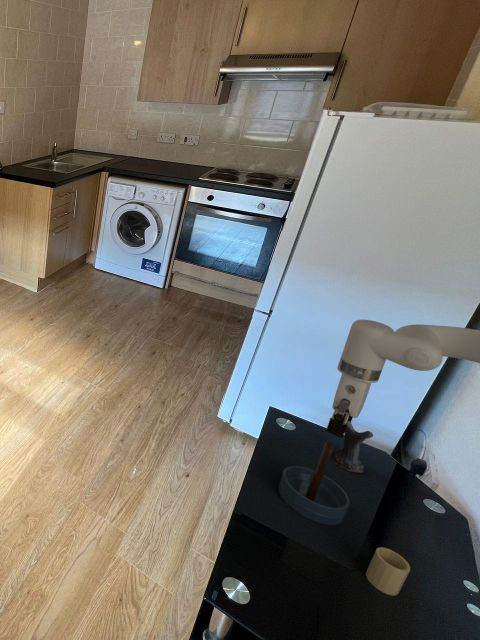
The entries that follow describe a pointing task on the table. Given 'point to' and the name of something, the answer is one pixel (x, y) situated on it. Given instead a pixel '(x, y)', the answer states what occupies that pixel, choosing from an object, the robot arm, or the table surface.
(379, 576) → the cup
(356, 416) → the robot arm
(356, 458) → the antler
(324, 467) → the stick
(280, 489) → the bowl
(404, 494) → the table surface
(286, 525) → the table surface
